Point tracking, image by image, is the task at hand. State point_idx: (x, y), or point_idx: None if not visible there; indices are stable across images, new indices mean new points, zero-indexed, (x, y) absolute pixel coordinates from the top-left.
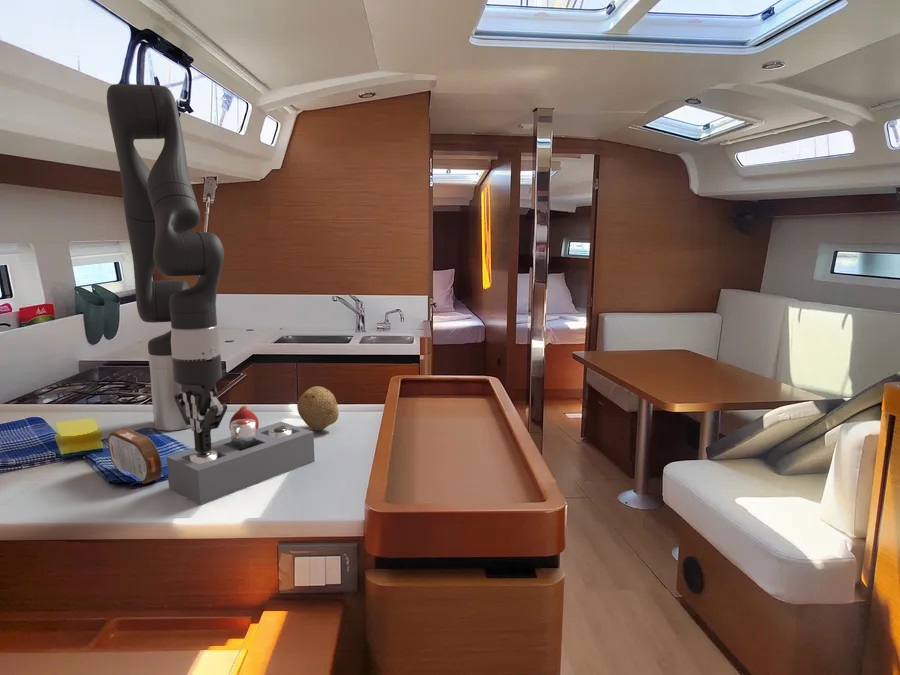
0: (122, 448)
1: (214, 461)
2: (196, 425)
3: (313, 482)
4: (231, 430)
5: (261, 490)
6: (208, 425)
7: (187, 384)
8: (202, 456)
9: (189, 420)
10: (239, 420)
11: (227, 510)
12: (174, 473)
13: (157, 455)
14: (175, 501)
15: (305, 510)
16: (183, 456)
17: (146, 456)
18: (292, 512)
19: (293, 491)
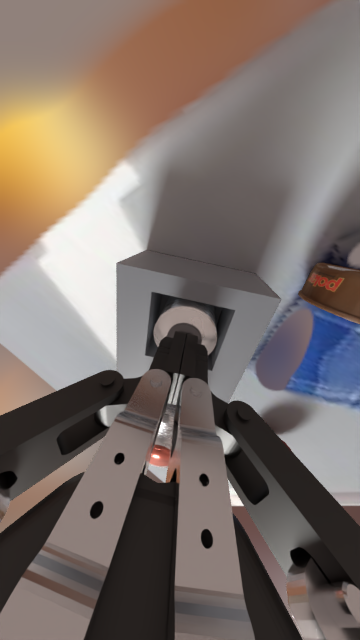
0: None
1: (136, 322)
2: (161, 395)
3: (83, 367)
4: (170, 424)
5: (114, 329)
6: (58, 392)
7: None
8: (173, 326)
9: (228, 423)
10: (166, 459)
11: (93, 257)
12: (236, 278)
13: (326, 304)
14: (201, 239)
15: (17, 305)
16: (232, 317)
17: (354, 278)
18: (22, 294)
19: (79, 341)
